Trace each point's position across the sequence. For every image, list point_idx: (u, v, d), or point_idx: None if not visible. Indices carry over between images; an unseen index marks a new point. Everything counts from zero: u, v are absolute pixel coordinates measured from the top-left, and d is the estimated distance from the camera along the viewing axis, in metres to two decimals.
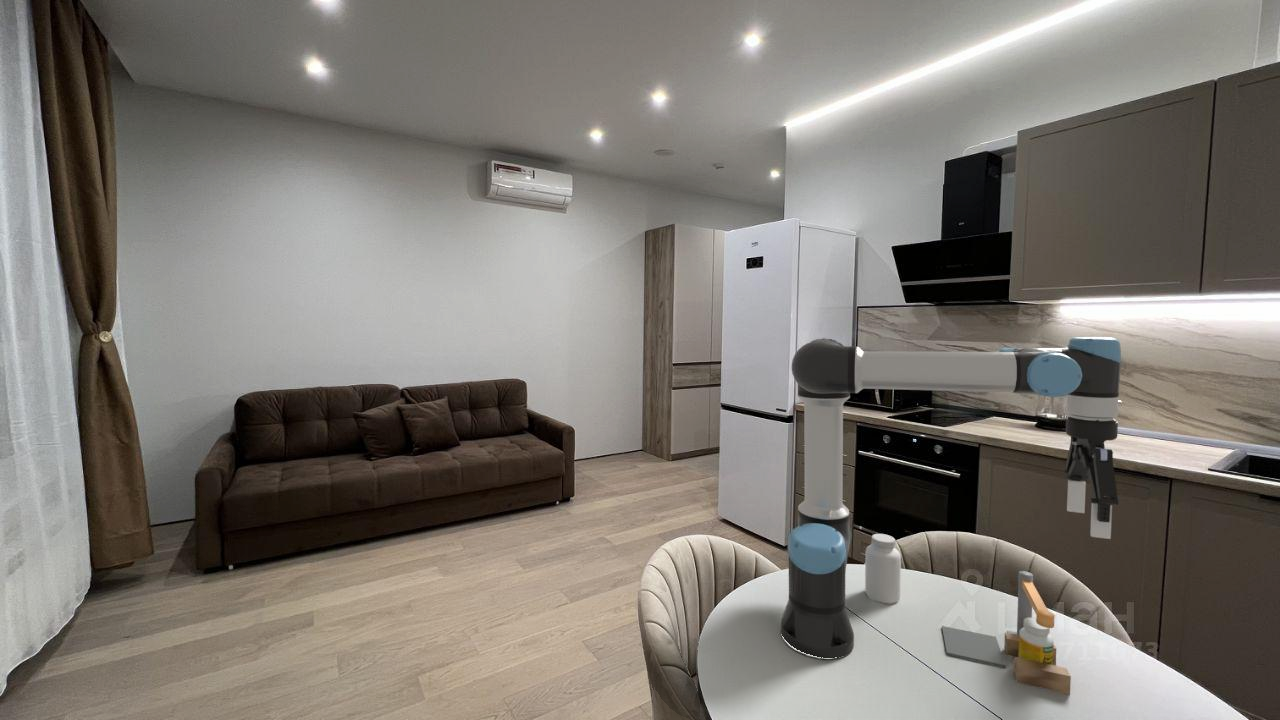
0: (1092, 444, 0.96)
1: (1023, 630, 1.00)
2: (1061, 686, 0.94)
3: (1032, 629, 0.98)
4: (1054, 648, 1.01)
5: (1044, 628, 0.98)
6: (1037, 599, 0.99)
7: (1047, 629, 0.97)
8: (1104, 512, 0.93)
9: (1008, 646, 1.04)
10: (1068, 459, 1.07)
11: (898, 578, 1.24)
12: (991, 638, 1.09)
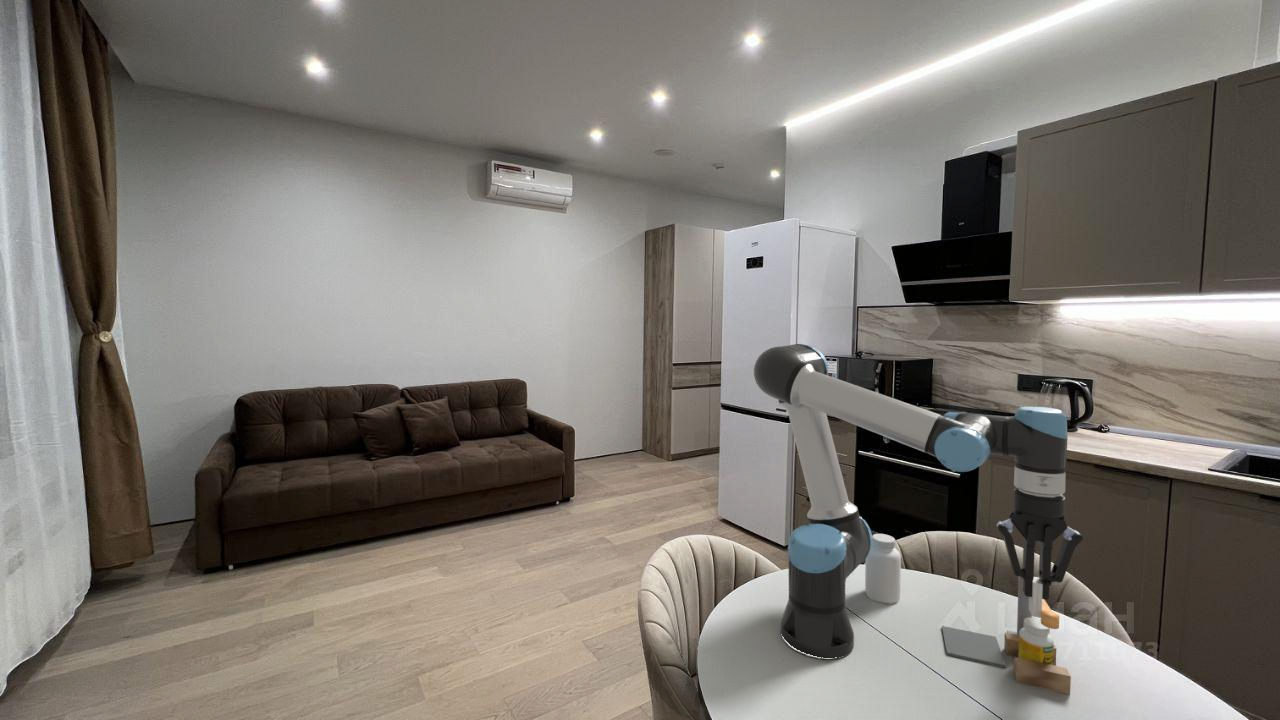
0: None
1: (1023, 630, 1.00)
2: (1061, 686, 0.94)
3: (1032, 629, 0.98)
4: (1054, 648, 1.01)
5: (1044, 628, 0.98)
6: None
7: (1047, 629, 0.97)
8: (1024, 584, 0.97)
9: (1008, 646, 1.04)
10: None
11: (898, 578, 1.24)
12: (991, 638, 1.09)
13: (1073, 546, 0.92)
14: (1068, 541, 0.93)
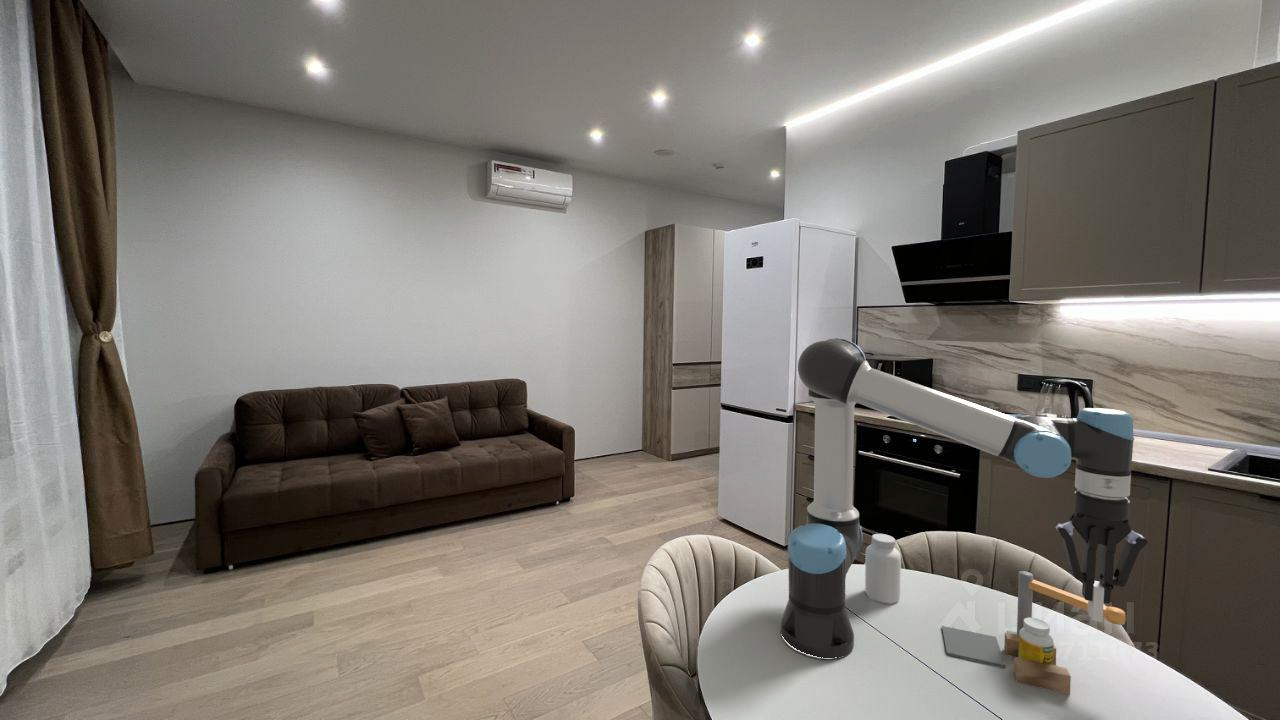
0: None
1: (1023, 630, 1.00)
2: (1061, 686, 0.94)
3: (1032, 629, 0.98)
4: (1054, 648, 1.01)
5: (1044, 628, 0.98)
6: (1078, 597, 0.99)
7: (1047, 629, 0.97)
8: (1083, 588, 0.96)
9: (1008, 646, 1.04)
10: None
11: (898, 578, 1.24)
12: (991, 638, 1.09)
13: (1137, 550, 0.91)
14: (1132, 545, 0.91)
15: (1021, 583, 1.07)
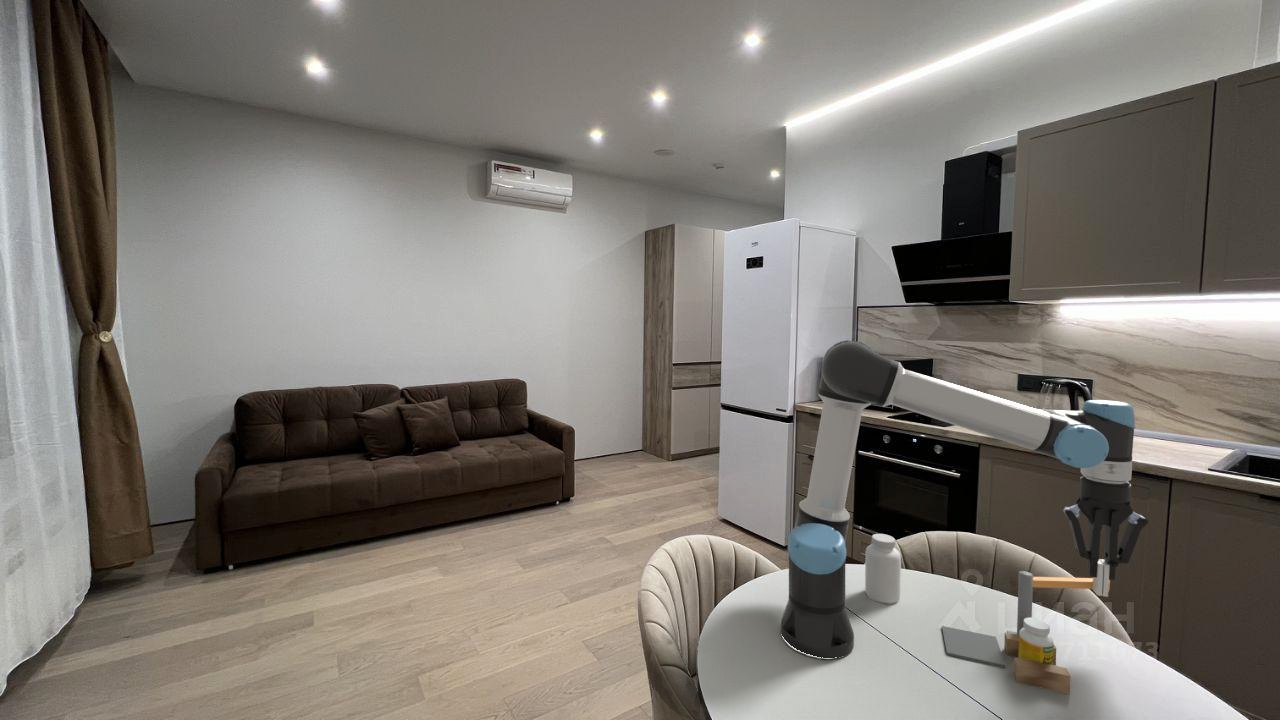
0: None
1: (1023, 630, 1.00)
2: (1061, 686, 0.94)
3: (1032, 629, 0.98)
4: (1054, 648, 1.01)
5: (1044, 628, 0.98)
6: (1071, 579, 1.06)
7: (1047, 629, 0.97)
8: (1088, 566, 1.04)
9: (1008, 646, 1.04)
10: None
11: (898, 578, 1.24)
12: (991, 638, 1.09)
13: (1139, 529, 0.99)
14: (1134, 525, 1.00)
15: (1027, 585, 1.06)
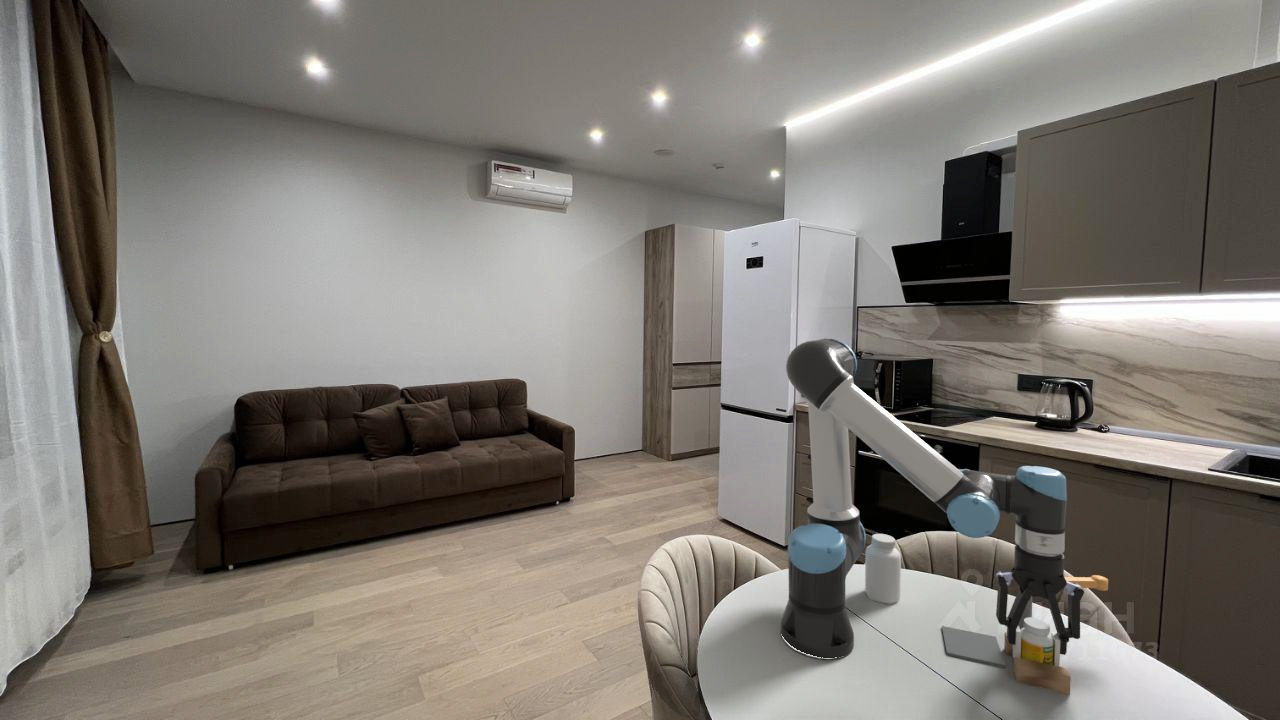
0: None
1: (1023, 630, 1.00)
2: (1061, 686, 0.94)
3: (1032, 629, 0.98)
4: None
5: (1044, 628, 0.98)
6: (1071, 578, 1.06)
7: (1047, 629, 0.97)
8: (1008, 632, 1.01)
9: (1008, 646, 1.04)
10: None
11: (898, 578, 1.24)
12: (991, 638, 1.09)
13: (1078, 601, 0.95)
14: (1072, 596, 0.96)
15: None
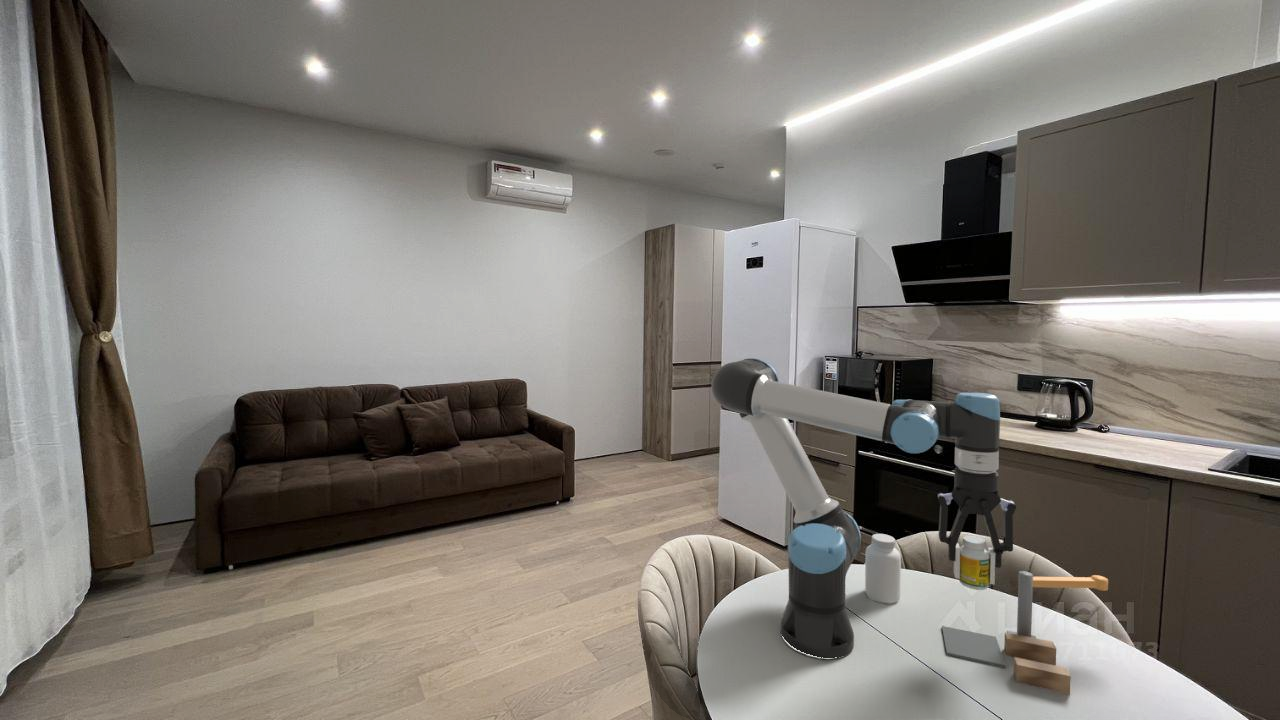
0: None
1: (962, 547, 1.07)
2: (1061, 686, 0.94)
3: (970, 544, 1.05)
4: (1054, 648, 1.01)
5: (980, 543, 1.04)
6: (1071, 578, 1.06)
7: (983, 544, 1.04)
8: (949, 550, 1.08)
9: (1008, 646, 1.04)
10: None
11: (898, 578, 1.24)
12: (991, 638, 1.09)
13: (1011, 515, 1.02)
14: (1005, 512, 1.02)
15: (1027, 585, 1.06)
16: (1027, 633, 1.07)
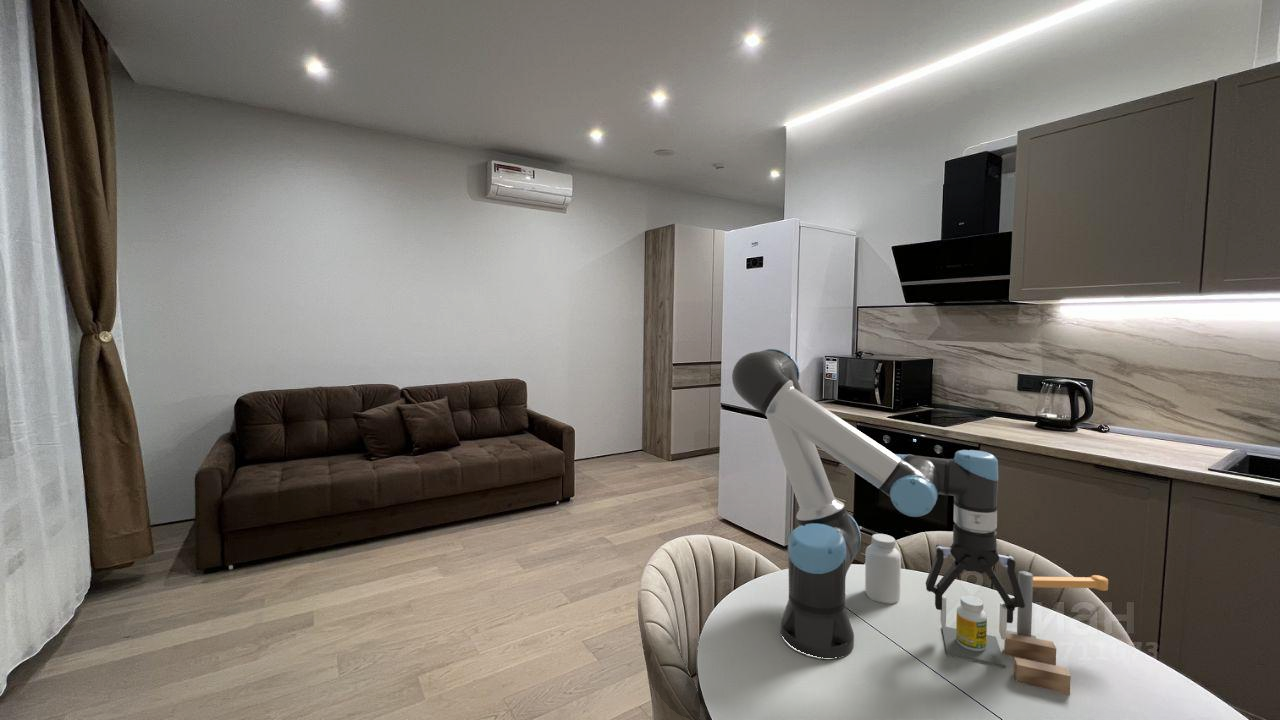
0: None
1: (960, 607, 1.08)
2: (1061, 686, 0.94)
3: (967, 606, 1.06)
4: (1054, 648, 1.01)
5: (978, 605, 1.05)
6: (1071, 578, 1.06)
7: (980, 605, 1.05)
8: None
9: (1008, 646, 1.04)
10: None
11: (898, 578, 1.24)
12: (991, 638, 1.09)
13: (1013, 571, 1.02)
14: (1007, 568, 1.03)
15: (1027, 585, 1.06)
16: (1027, 633, 1.07)
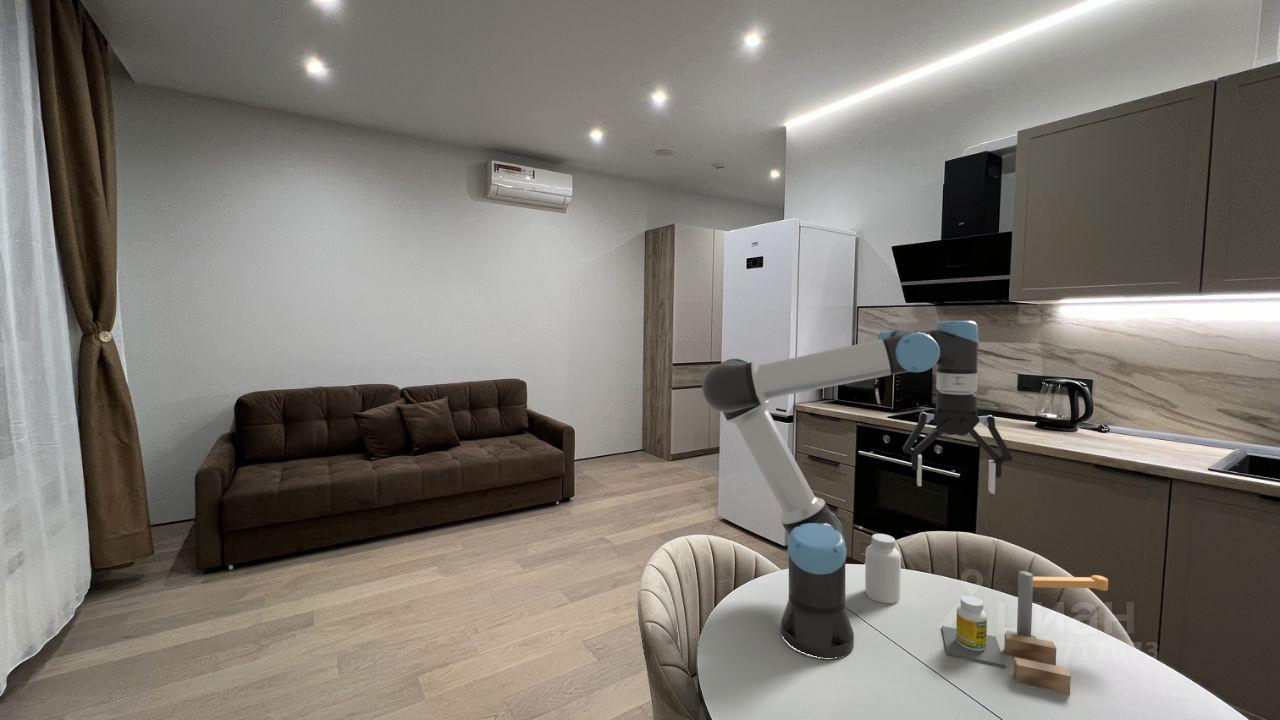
0: None
1: (960, 607, 1.08)
2: (1061, 686, 0.94)
3: (967, 606, 1.06)
4: (1054, 648, 1.01)
5: (978, 605, 1.05)
6: (1071, 578, 1.06)
7: (980, 605, 1.05)
8: (912, 461, 1.15)
9: (1008, 646, 1.04)
10: None
11: (898, 578, 1.24)
12: (991, 638, 1.09)
13: (994, 427, 1.07)
14: (988, 426, 1.08)
15: (1027, 585, 1.06)
16: (1027, 633, 1.07)
